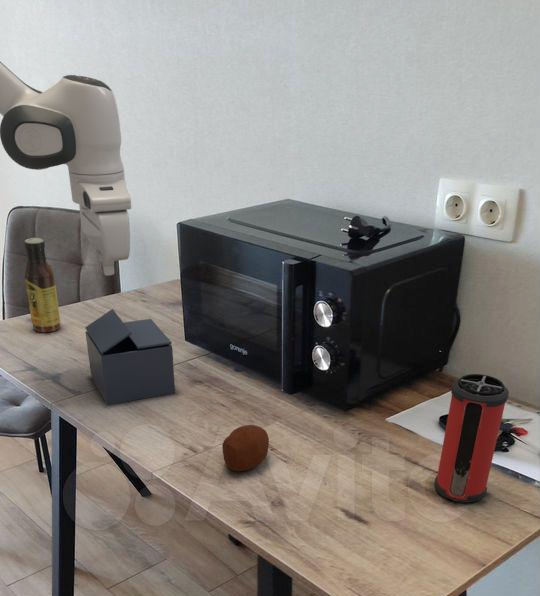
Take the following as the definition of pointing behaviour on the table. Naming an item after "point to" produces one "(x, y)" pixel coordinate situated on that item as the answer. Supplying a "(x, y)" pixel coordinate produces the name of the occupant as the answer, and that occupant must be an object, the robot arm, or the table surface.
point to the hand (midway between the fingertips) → (107, 273)
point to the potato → (245, 447)
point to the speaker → (470, 437)
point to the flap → (107, 331)
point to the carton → (134, 364)
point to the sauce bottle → (41, 288)
